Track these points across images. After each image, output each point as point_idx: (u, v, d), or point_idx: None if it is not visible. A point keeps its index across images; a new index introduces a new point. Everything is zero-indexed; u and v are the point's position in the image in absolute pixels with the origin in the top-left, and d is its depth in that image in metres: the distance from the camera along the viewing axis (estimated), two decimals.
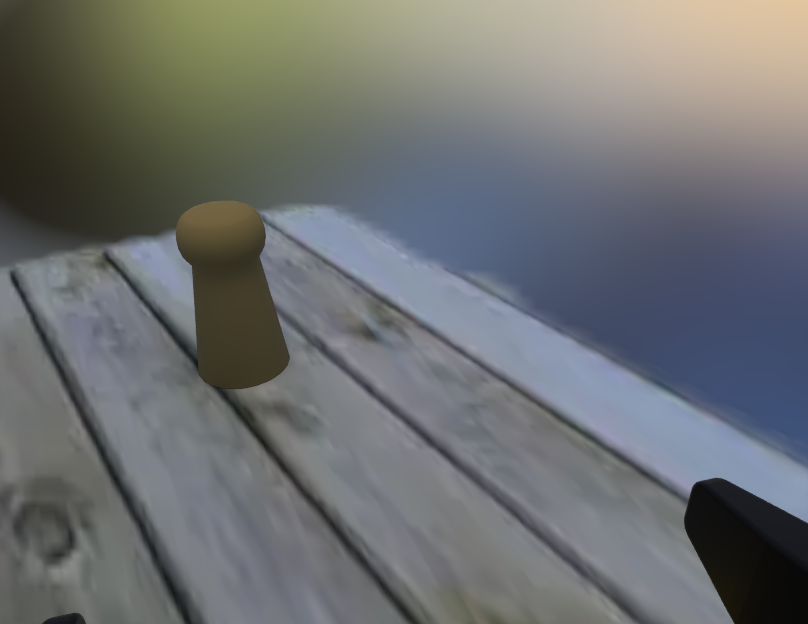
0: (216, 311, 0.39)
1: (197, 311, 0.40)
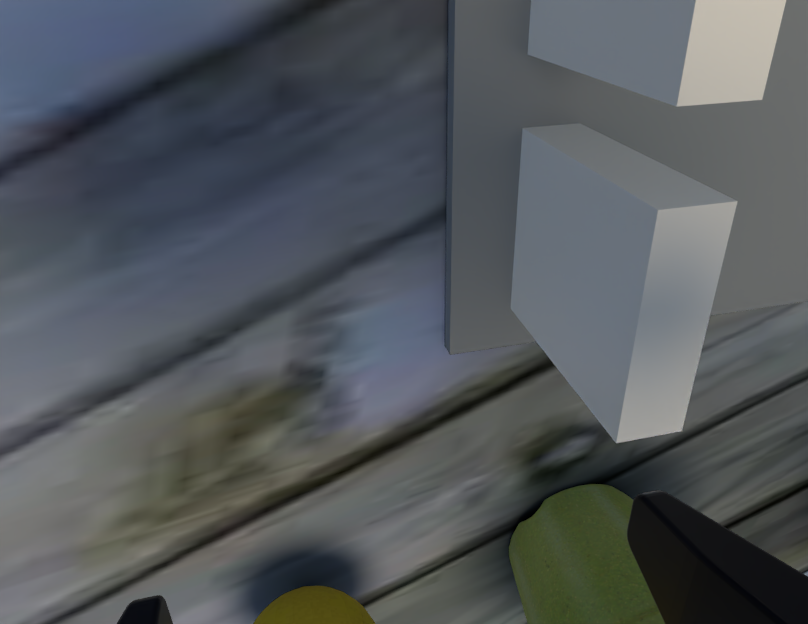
0: None
1: None
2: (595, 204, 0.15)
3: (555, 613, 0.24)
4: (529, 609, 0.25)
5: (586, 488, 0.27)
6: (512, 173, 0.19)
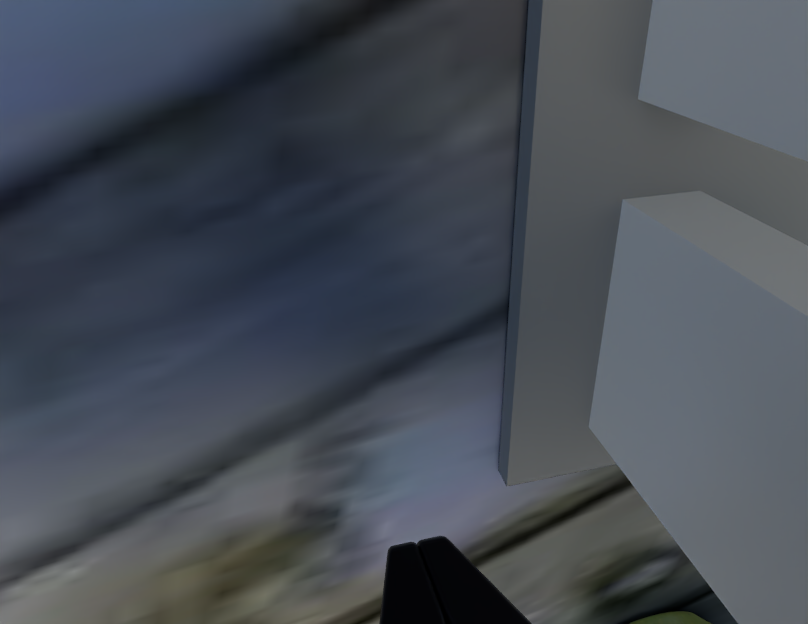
0: None
1: None
2: (774, 345, 0.10)
3: None
4: None
5: (663, 619, 0.22)
6: (604, 259, 0.14)
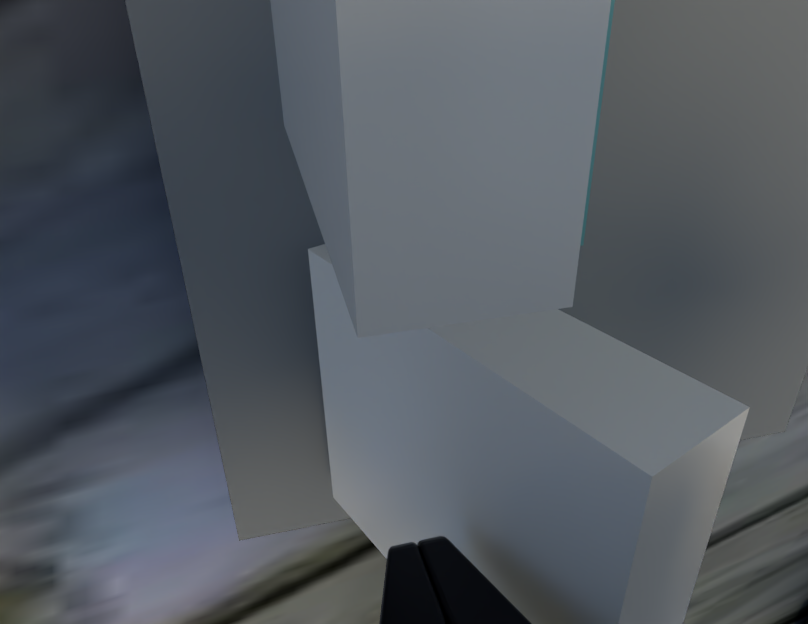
0: None
1: None
2: (485, 413, 0.08)
3: None
4: None
5: None
6: (291, 300, 0.13)
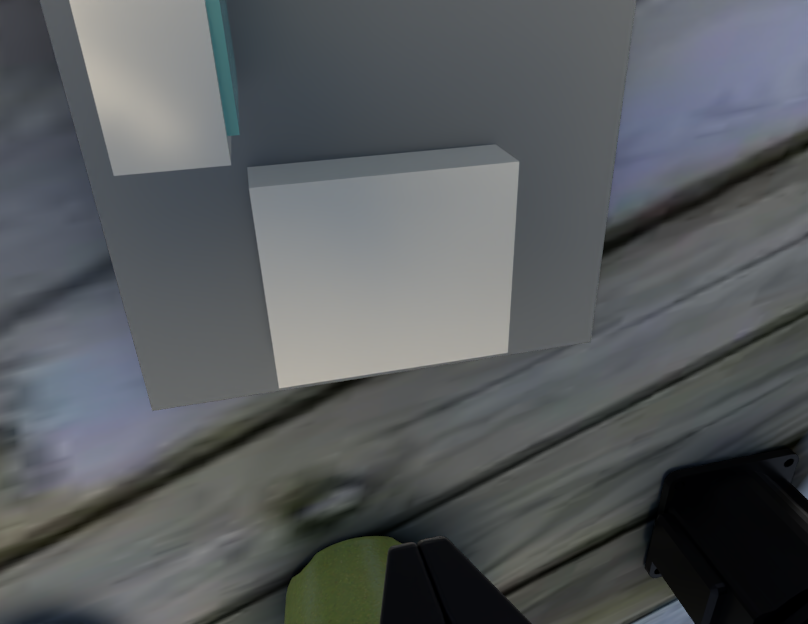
0: None
1: None
2: (431, 197, 0.17)
3: None
4: None
5: (359, 541, 0.26)
6: (174, 220, 0.18)
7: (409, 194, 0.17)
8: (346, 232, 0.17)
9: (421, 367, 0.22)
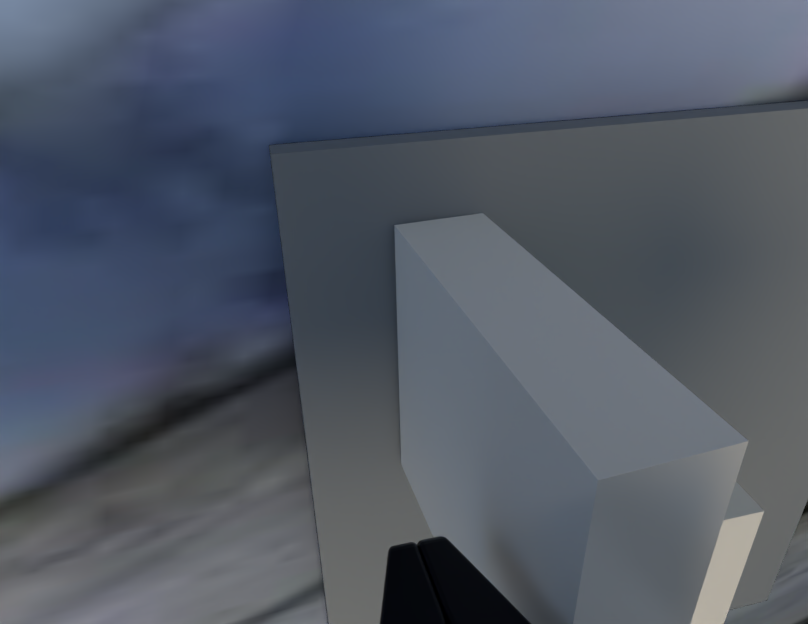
0: None
1: None
2: None
3: None
4: None
5: None
6: None
7: None
8: None
9: None
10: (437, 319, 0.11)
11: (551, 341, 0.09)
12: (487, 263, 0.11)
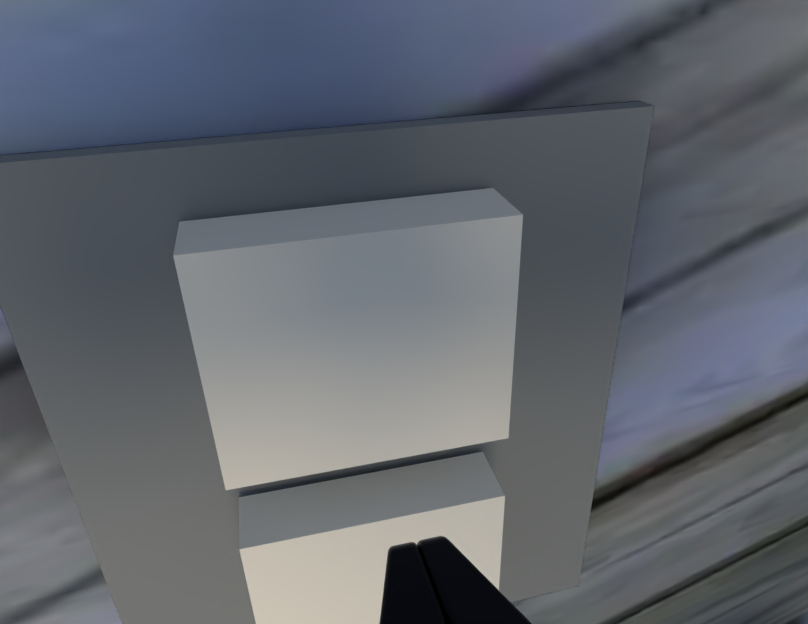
0: None
1: None
2: (419, 532, 0.17)
3: None
4: None
5: None
6: (167, 541, 0.18)
7: (397, 533, 0.17)
8: (335, 568, 0.17)
9: None
10: (305, 274, 0.13)
11: (401, 214, 0.14)
12: (282, 224, 0.13)
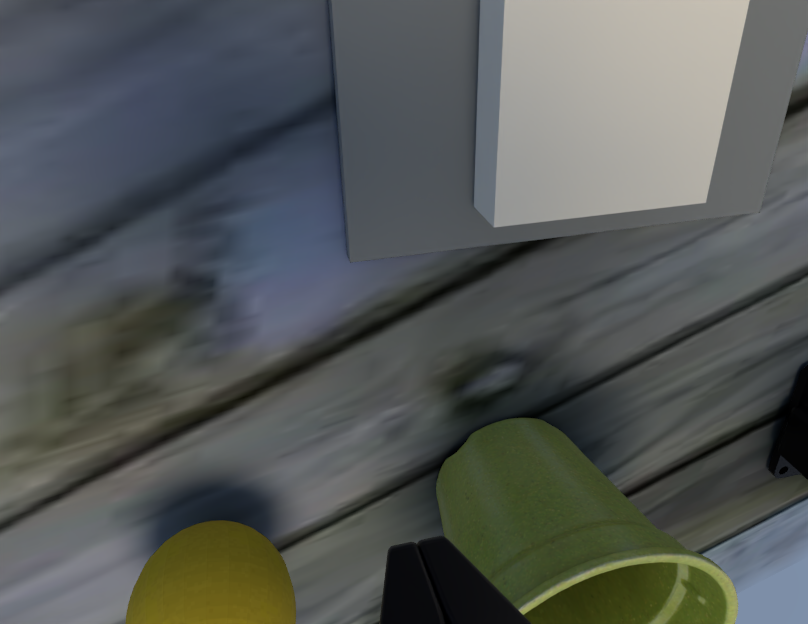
0: None
1: None
2: (667, 22, 0.17)
3: (471, 545, 0.22)
4: None
5: (514, 421, 0.26)
6: (402, 51, 0.18)
7: (647, 17, 0.17)
8: (583, 56, 0.17)
9: (602, 230, 0.22)
10: None
11: None
12: None
